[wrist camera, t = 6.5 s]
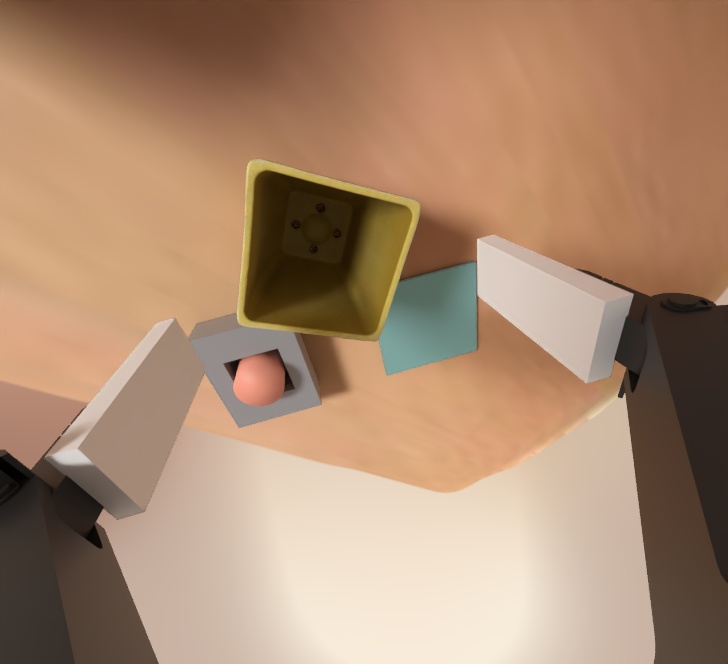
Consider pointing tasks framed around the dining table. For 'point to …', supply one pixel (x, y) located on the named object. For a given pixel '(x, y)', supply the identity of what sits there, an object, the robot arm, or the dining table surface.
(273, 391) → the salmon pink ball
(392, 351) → the pad
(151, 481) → the robot arm
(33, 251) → the dining table surface
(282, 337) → the housing
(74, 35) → the dining table surface
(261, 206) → the flower pot
